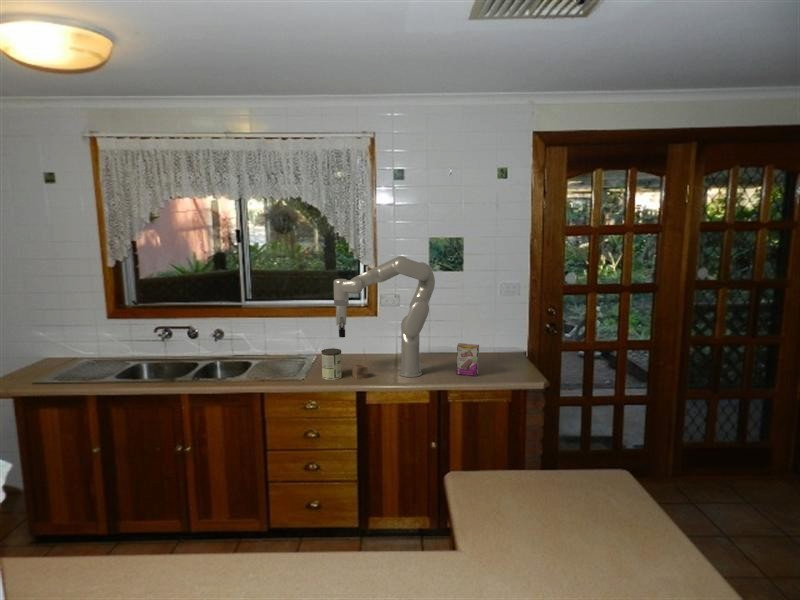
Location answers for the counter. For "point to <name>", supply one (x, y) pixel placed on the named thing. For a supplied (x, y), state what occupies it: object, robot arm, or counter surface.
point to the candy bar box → (467, 359)
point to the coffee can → (331, 364)
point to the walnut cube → (360, 371)
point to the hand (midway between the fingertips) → (342, 335)
